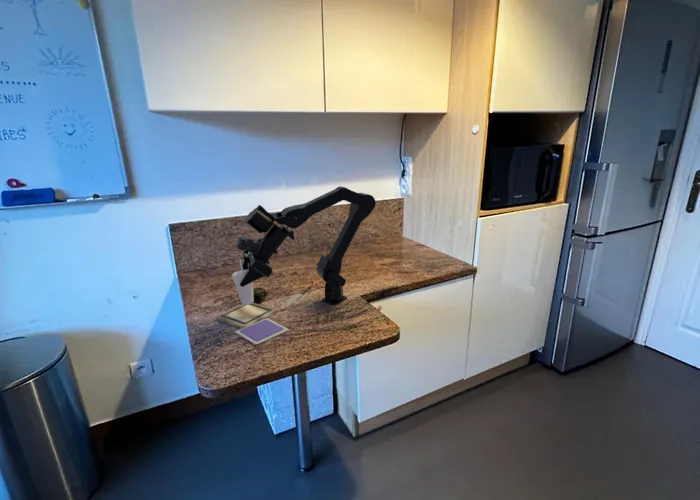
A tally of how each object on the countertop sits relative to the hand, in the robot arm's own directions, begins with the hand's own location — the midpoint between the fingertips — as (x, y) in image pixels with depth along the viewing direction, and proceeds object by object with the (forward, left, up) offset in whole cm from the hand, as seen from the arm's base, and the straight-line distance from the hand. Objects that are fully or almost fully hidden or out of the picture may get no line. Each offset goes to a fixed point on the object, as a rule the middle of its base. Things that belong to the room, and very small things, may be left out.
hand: (239, 282), depth 111 cm
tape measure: (-12, -7, -13) cm, 19 cm away
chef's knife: (-21, +3, -13) cm, 25 cm away
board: (-2, -1, -12) cm, 12 cm away
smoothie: (-1, +1, -7) cm, 7 cm away
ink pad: (+3, +11, -12) cm, 17 cm away
